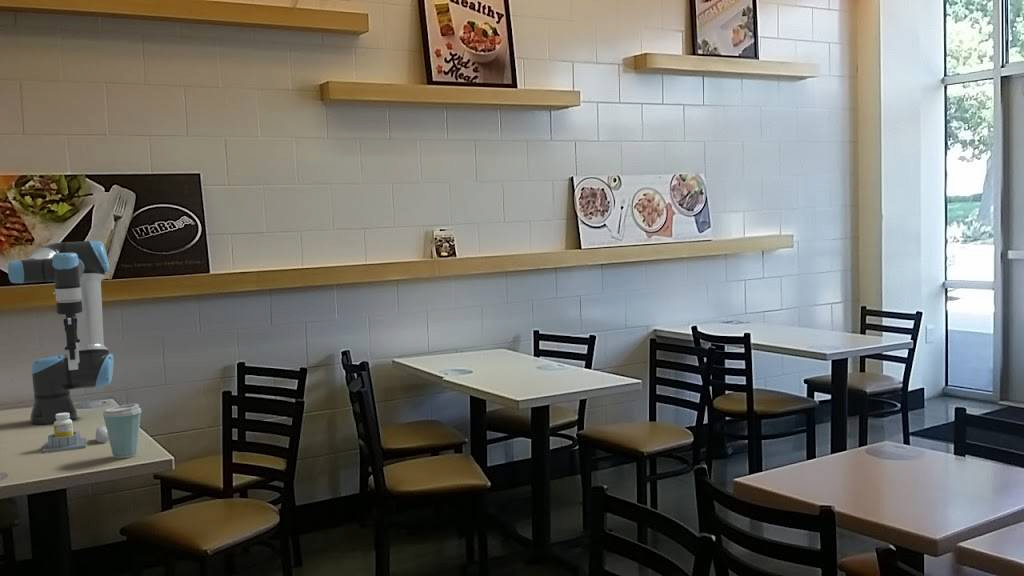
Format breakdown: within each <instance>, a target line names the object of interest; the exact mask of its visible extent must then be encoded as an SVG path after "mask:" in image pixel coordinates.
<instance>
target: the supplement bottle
mask: <svg viewBox="0 0 1024 576" xmlns="http://www.w3.org/2000/svg"><path fill="white" fill-rule="evenodd" d="M69 418H70V413H58V414H56V419H57V421H55V422H54V423H53V431H54V433H53V434H55V437H66V436H71V435H73V431H74V425H73V420H71V419H69Z"/></svg>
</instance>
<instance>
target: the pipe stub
mask: <svg viewBox="0 0 1024 576" xmlns="http://www.w3.org/2000/svg"><path fill="white" fill-rule="evenodd" d="M95 439H96V442H98V443H100V444H104V443H107V442H108V441H109V437H108V433H107V428H106V425H100V426H98V427H96V430H95Z"/></svg>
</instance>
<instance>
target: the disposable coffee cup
mask: <svg viewBox="0 0 1024 576" xmlns="http://www.w3.org/2000/svg"><path fill="white" fill-rule="evenodd" d="M141 414H142V409H141V407H140V406H139V404H138V403H129V404H123V405H119V406H118V405H117V406H113V407H110V408H107V409H105V410H104V411H103V412H102V417H103V418H104V424H105V426H106V428H107V433H108V437H109V440H108V441H109V444H110V448H111V453H112V456H113V458H115V459H129V458H133V457H135V456H137V453H138V452H139V441H140V440H139V439H140V430H141V429H140V425H141Z"/></svg>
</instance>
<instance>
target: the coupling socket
mask: <svg viewBox="0 0 1024 576" xmlns="http://www.w3.org/2000/svg"><path fill="white" fill-rule="evenodd" d="M47 441H48V442H44V444H43V448H42V454H46V452H48V453H54V452H53V451H56V452H62V451H61V450H64V451H72V449H73V450H79V449H80V450H81V449H86V447H87V437H83V438H81V433H80V431H76V430H73V435H71V436H66V437H55V433H52V434H50V435H48V436H47Z"/></svg>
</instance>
